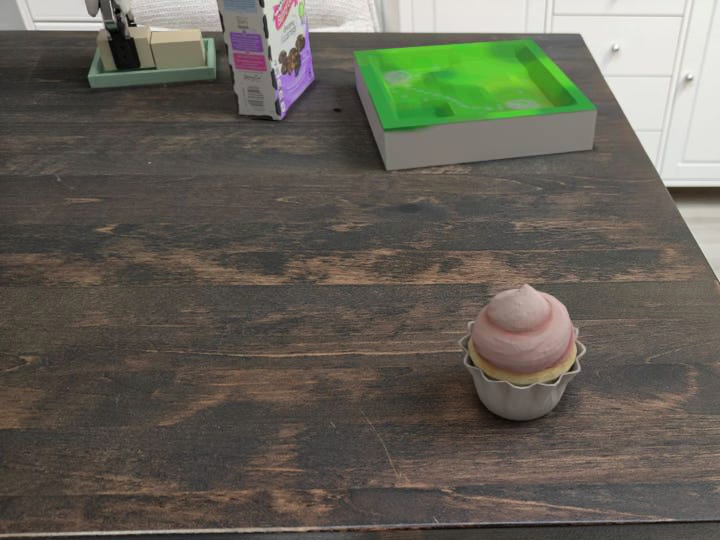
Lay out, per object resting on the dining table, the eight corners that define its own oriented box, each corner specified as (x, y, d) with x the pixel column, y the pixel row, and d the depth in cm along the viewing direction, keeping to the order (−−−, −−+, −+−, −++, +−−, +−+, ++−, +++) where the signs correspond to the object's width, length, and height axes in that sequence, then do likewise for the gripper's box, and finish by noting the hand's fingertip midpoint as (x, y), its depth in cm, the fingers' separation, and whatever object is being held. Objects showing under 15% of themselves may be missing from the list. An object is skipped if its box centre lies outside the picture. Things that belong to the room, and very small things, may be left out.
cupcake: (577, 356, 61) (591, 252, 54) (581, 440, 54) (598, 332, 47) (463, 350, 61) (463, 245, 54) (452, 433, 54) (451, 324, 47)
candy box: (281, 122, 94) (258, -20, 83) (237, 118, 94) (208, -24, 84) (317, 82, 104) (300, -50, 93) (276, 78, 105) (255, -52, 94)
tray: (528, 74, 108) (531, 38, 104) (592, 149, 90) (597, 108, 86) (356, 88, 102) (353, 51, 99) (386, 170, 84) (383, 128, 81)
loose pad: (105, 70, 102) (95, 40, 99) (108, 58, 106) (99, 28, 103) (155, 67, 103) (147, 37, 101) (157, 54, 107) (149, 25, 104)
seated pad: (157, 72, 104) (150, 43, 101) (159, 60, 107) (152, 31, 105) (206, 69, 105) (200, 40, 103) (206, 57, 109) (200, 28, 106)
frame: (92, 92, 100) (87, 76, 98) (102, 59, 109) (97, 45, 107) (217, 82, 103) (213, 67, 102) (216, 52, 112) (213, 37, 111)
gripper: (65, -100, 98) (108, 43, 110) (44, -72, 85) (95, 86, 97) (125, -102, 99) (161, 39, 111) (113, -75, 87) (155, 81, 99)
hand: (130, 59), depth 104 cm, fingers closed on loose pad, 5 cm apart
